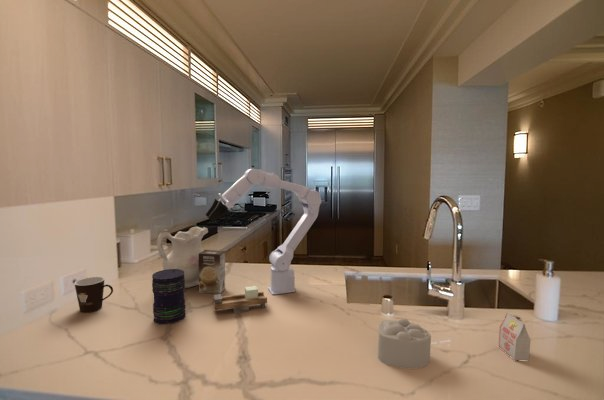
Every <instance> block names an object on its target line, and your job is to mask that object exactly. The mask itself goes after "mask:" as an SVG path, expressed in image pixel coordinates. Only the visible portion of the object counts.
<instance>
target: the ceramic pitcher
mask: <svg viewBox="0 0 604 400" xmlns="http://www.w3.org/2000/svg"><path fill="white" fill-rule="evenodd" d="M208 229H209V228H207V227H205V226H203V227H200V226H193V227H190V228H189V230H188V231H178V232H176V234H175V235H174V236H173V235H172V234H171V233H170V229H163V230H160V233H159V235H158V236H157V239H156V248H157V251H158V253H159V256H160V258H162V267H163V270H167V269H180V270H183V271H184V279H185V289H188V288H189V289H190V288H192V287H195V286H199V253H200V252H202V251H203V250H204V249H203V248H202V247H201V244H202V239H203V237H204V236H205V235H206V234H208V233H209V230H208ZM165 239H167V240H169V241H170V242H171V246H172V248H171V249H172V250H171V251H170V252H169V253H168V254H167V255H166V252H165V250H164V248H163V241H164V240H165Z"/></svg>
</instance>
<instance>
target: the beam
mask: <svg viewBox="0 0 604 400" xmlns="http://www.w3.org/2000/svg"><path fill="white" fill-rule="evenodd" d="M212 304H213V305H212V306H213V309H214V311H221V310H228V309H229V310H230V309H232V311H233V313H234V314H238V313H244V312H249V311H250V306H256V305H257V306H258V305H260V307H261V309H265V308H266V304H268V296H265V293H264V291H258V298H254V299H247V300H246V298H245V293H242V294H241V293H240V294H234V295H226V296H225V295H224V296H222V294H221V293H220V294H213V297H212Z"/></svg>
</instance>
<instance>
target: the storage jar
mask: <svg viewBox="0 0 604 400" xmlns="http://www.w3.org/2000/svg"><path fill="white" fill-rule="evenodd" d="M151 278H152V281H151V282H152V284H151V285H152V288H151V290H152V293H153V305H152V308H153V309H152V313H153V322H154V323H155V324H156V325H162V326H163V325H164V326H167V325H173V324H176V323H178V322H181V321H183V320H184V319H185V317H186V299H185V289H186V288H185V279H184V271H183V270H180V269H167V270H164V269H162V270H158V271H156V272H154V273H152V275H151Z"/></svg>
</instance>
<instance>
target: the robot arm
mask: <svg viewBox="0 0 604 400" xmlns="http://www.w3.org/2000/svg"><path fill="white" fill-rule="evenodd" d="M255 185H258V186H259V187H262V188H266V189H270V190H276V189H278V188H280V189H282V190H286V191H289V192H291V193H294V194H295V196H296V197H297V198H298V201H299V202H300V205H301V206H302V209H303V214H302V216H301V217H300V218H299V220H298V222H297V223H296V225H295V226H294V227H293V228H292V231H291V232H290V233H289V234H288V236H287V237H286V239H285V240H284V242H283V243H282V244H280V245H279V246H277V248H276V249H275V250H273V251H271V253H270V254H269V257H268V260H269V263H270V264H271V267H270V286H267V289H268V290H269V292H270V293H271V294H272V295H282V294H286V293H295V292H296V290H295V286H296V285H295V282H296V281H295V279H296V278H295V271H294V269H293V268H292V267H291V264H292V263H291V262H292V260H293V258H294V251H295V250H296V249H297V247H298V245H299V244H300V242H301V241H302V240H303V239H304V237H305V236H306V234H307V233H308V231H309V230H310V228H311V227H312V225H313V224H314V222H315V221H316V219H317V218H318V216H319V212H320V206H321V204H322V201H323V200H322V198H321V197H322V196H321V194H320V192H319V191H317V190H314V189H313V190H312V188H310V187H307V186H305V185H302V184H298V183H294V182H290V181H286V180H282V179H281V178H280V177H279V175H277V174H276V173H275V172H271V173H270V172H268V171H267V172H266V171H264V170H263V169H257V168H249V169H246V170H245V171H244V173H243V175H242V176H241V177H240V178H239V179H238V180H237V181H235V182H234V183H233V184H232V185H231V186H230V187H229V188H228V189H227V190H226V191H224V193H220V192H219V193H218V196H219V199H217V198H214V199H213V202H212V204H211V205H210V207H209V209H208V210H207V211H206V213H205V216H206V217H207V218H208V220H210V221H211V222H212V223H214V222H215V221H216V220H219V219H220V218H221V217H223V216H225V215H228V214H230V213H231V211H230V210H229V209H232V208H233V207H234V206H235V205H236V204H237V203H238V202H239V201H240V200H241V199H242V198H243V197H244V196H245V195H246V194H247V193H248V192H249V191H250V190H251V189H252V188H253V187H255Z"/></svg>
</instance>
